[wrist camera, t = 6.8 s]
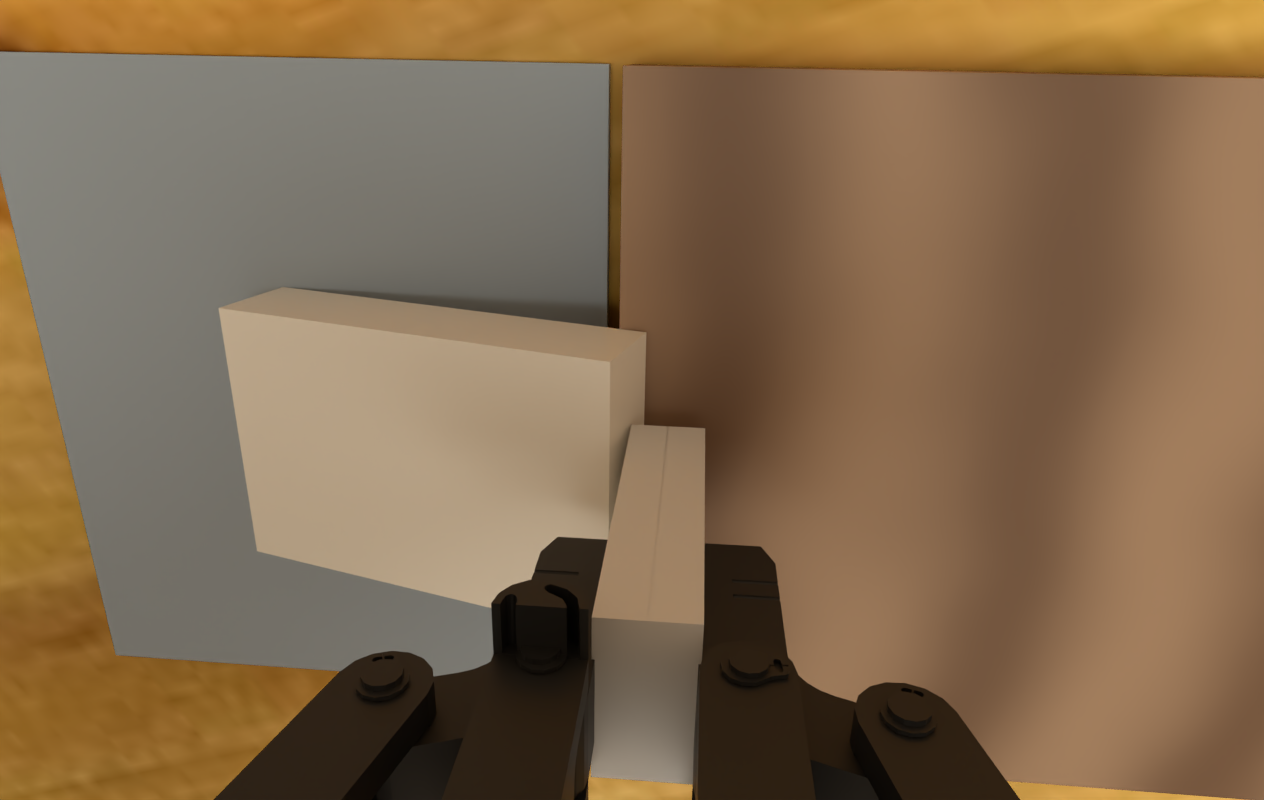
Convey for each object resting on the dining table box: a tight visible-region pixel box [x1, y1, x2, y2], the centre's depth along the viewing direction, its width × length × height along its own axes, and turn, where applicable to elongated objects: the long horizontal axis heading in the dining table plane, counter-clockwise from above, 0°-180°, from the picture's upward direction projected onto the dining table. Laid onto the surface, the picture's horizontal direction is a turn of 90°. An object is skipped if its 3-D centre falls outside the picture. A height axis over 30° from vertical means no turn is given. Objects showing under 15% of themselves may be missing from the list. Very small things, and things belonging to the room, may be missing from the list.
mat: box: [0, 52, 610, 676], centre depth 22 cm, size 14×16×1 cm
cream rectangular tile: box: [218, 287, 646, 608], centre depth 19 cm, size 9×6×2 cm, turn 90°
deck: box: [619, 64, 1264, 800], centre depth 20 cm, size 16×16×2 cm
